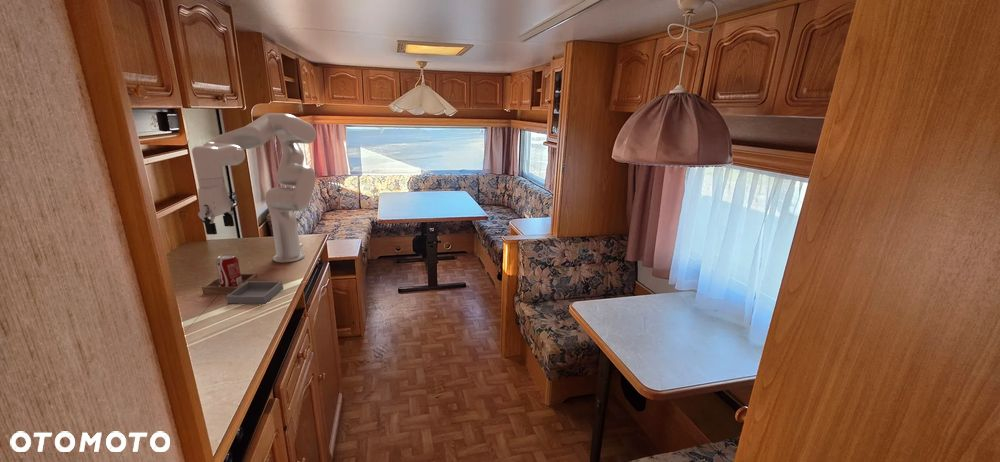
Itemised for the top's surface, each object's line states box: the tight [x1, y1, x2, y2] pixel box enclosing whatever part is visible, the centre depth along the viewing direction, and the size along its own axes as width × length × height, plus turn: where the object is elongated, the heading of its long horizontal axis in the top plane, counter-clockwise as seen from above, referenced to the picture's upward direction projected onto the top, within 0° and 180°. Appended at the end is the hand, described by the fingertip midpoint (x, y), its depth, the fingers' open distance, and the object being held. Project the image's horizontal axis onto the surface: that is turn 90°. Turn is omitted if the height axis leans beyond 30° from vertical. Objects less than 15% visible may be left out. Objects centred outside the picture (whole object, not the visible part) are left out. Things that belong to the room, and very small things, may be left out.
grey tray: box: [225, 280, 284, 306], centre depth 143 cm, size 13×13×3 cm
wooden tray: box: [201, 273, 259, 295], centre depth 150 cm, size 13×13×2 cm
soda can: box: [215, 253, 243, 287], centre depth 149 cm, size 7×7×12 cm
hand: (221, 230), depth 144 cm, fingers open, 9 cm apart
